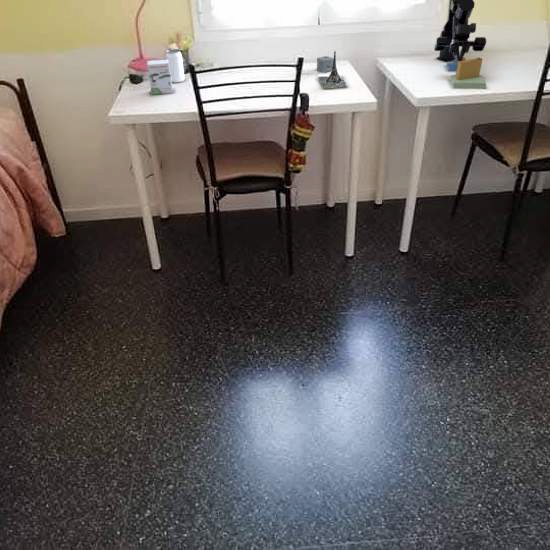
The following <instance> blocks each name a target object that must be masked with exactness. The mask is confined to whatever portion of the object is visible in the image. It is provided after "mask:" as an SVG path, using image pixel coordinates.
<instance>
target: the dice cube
mask: <svg viewBox="0 0 550 550" xmlns="http://www.w3.org/2000/svg"><path fill="white" fill-rule="evenodd" d="M333 61H334V57H332V56H327V55H324V56H319V57H316V71H319V72H322V73H327V72H331V71H332V68H333Z"/></svg>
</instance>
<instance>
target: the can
mask: <svg viewBox="0 0 550 550" xmlns="http://www.w3.org/2000/svg"><path fill="white" fill-rule="evenodd" d="M165 52H166V54H165V60H168V61H169V67H170V74H171V81H172V84H173V83H175V84H177V83H178V84H179V83H182V82H184V81H185V79H186V78H185V70H184V63H183V61H184V60H183V55H182V53H181V50H180V49H178V48H171V49H167V50H166V51H165Z"/></svg>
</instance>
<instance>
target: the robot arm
mask: <svg viewBox="0 0 550 550" xmlns="http://www.w3.org/2000/svg"><path fill="white" fill-rule="evenodd" d="M447 8H448V10H447V18H446V19H447V20H446V22H445V23H444V25H443V27H442V30H441V31H440V34H439V36H438V37H437V38H436V39H435V42H434V47H433V48H434V49H433V50H434V51H435V52H439V55H438V56H437V57H436V60H439V61H442V62H446V63H449V62H452V61H453V60H456V62H457V64H458V61H462V59H463V57H465V55H466V54H467V53H469V51H470V48H471V50H472V51H473V52H483V51H484V49H485V47H486V44H487V38H486V37H485V36H475V37H474V40H469V39H470V37H471V36H470V35H471V34H474V33H476V30H477V23H476V22H471V23H470V24H469V19H470V17H471V15H472V13H473V10H474V8H475V1H474V0H448V7H447ZM460 47H461V48H460Z"/></svg>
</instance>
